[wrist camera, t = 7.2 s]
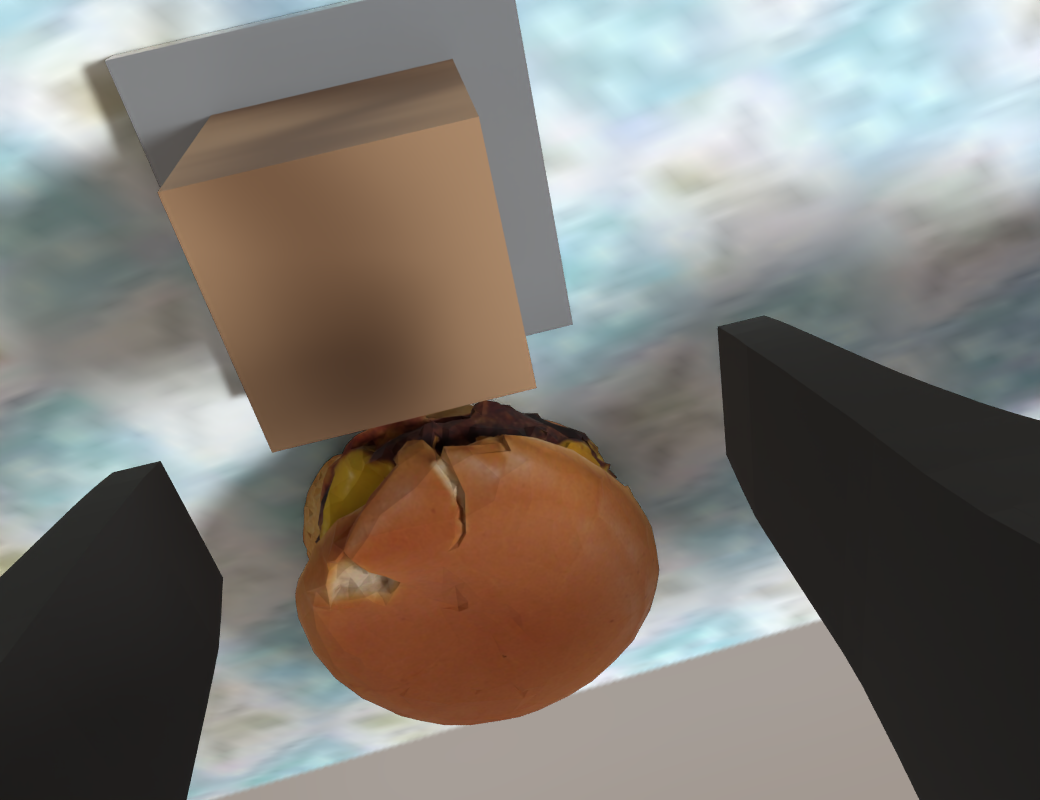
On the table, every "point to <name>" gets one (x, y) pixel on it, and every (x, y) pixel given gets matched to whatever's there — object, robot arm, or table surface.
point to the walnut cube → (353, 254)
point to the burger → (472, 565)
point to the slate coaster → (357, 56)
